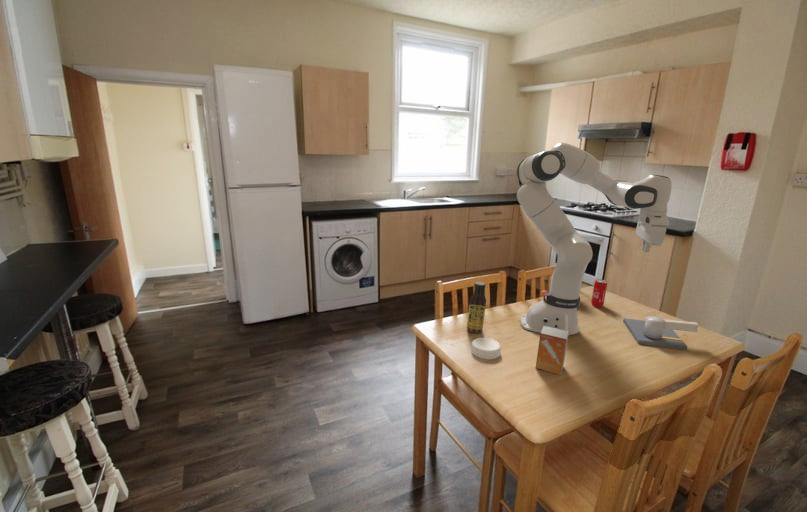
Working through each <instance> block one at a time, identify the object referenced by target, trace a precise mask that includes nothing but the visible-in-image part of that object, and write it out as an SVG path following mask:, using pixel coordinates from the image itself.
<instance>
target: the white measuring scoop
mask: <svg viewBox="0 0 807 512" xmlns="http://www.w3.org/2000/svg"><path fill="white" fill-rule="evenodd" d="M645 321H646V322H645V327H644V331H643V334H644V335H645V336H647V337H650V338H654V339H660V338H662V333H663V329H671V330H673V331H680V332H681V331H682V332H692V333H698V329H699V324H698V322H696V321H695V322H694V321H684V320H674V319H666V318H665V319H664V318H661V317H658V316H653V315H649V316H646V317H645Z"/></svg>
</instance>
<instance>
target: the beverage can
mask: <svg viewBox="0 0 807 512" xmlns="http://www.w3.org/2000/svg"><path fill="white" fill-rule="evenodd" d="M607 287H608V282H607V281H606V280H605V279H595V280H594V285H593V288H592V289H593V290H592V295H591V306H593V307H597V308H602V307H603V305H605V304H604V303H605V298H606V292H607Z"/></svg>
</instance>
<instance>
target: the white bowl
mask: <svg viewBox="0 0 807 512" xmlns="http://www.w3.org/2000/svg"><path fill="white" fill-rule="evenodd" d="M501 346H502V345H501V343H499V341H497V340H496V339H492V338H489V337H477V338H475V339H473V340H472V342H471V353H472V354H473V355H474V356H475V357H477V358H479V359H483V360H494V359H495V360H496V359H497V358H499V357H500V355H501V349H502V347H501Z"/></svg>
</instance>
